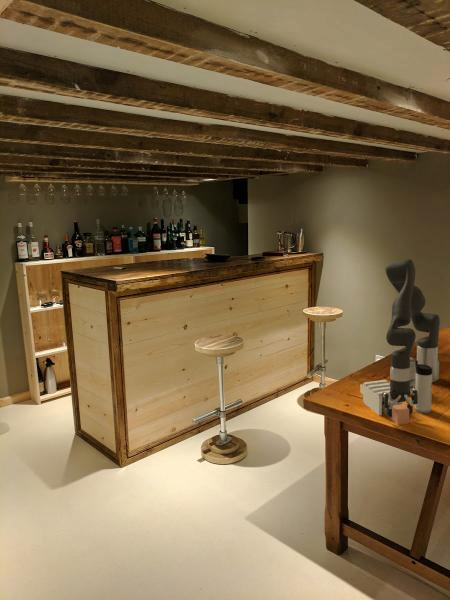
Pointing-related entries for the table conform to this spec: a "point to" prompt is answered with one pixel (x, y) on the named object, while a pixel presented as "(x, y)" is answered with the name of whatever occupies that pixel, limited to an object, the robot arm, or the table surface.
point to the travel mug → (423, 388)
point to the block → (400, 414)
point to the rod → (362, 394)
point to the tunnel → (375, 394)
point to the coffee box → (413, 372)
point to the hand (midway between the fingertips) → (399, 415)
